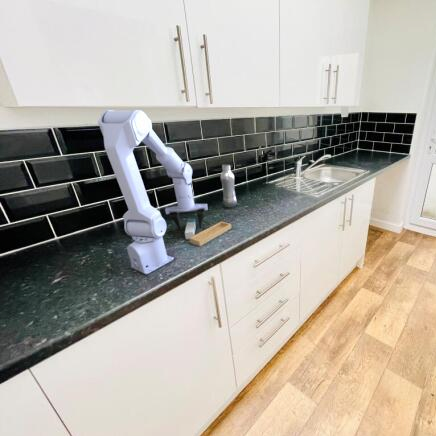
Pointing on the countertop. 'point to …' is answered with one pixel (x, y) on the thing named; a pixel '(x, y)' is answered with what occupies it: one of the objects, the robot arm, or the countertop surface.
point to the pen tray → (210, 233)
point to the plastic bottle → (228, 186)
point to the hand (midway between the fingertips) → (190, 228)
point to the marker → (190, 228)
